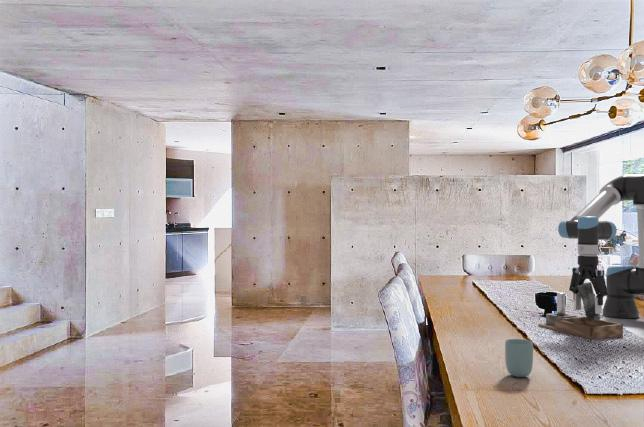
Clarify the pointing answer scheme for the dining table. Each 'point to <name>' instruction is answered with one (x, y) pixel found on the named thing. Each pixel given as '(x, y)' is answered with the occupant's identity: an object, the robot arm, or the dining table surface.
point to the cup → (519, 357)
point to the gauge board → (582, 326)
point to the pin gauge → (561, 304)
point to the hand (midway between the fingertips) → (587, 311)
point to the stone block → (588, 301)
